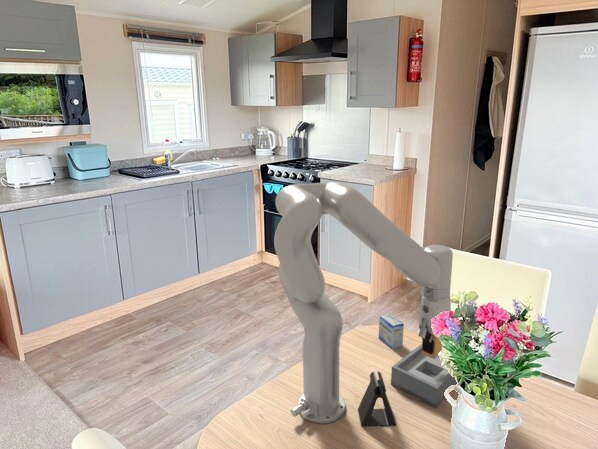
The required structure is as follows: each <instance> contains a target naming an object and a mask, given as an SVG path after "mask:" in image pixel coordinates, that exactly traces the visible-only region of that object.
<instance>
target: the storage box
mask: <svg viewBox="0 0 598 449" xmlns="http://www.w3.org/2000/svg"><path fill="white" fill-rule="evenodd" d="M390 378H391V379H390V385H391V386H393V387H395V388H397V389H399V390H401V391H402V392H405V393H406V394H408V395H410V396H412V397H413V398H416V399H418V400H420V401H422V402H424V403H426V404H428V405H429V406H431V407H433V408H437V407H438V406H439V405H440V404H441V403H442V402H443V401H444V400H445V399H446V398H445V396H444V392H445V390H446V389H447V388H448V387H449V386H451V385H456V384H457V382H456V380H455V378H454V377H452V376H451V375H450V374H449V373H448V370H447V369H445V368H443V367H442V366H441V363H440V358H439V356H438V357H437V358H435V359H432V358H430V357H428V356H425V355H423V354H422V343H421V344H420V345H418V346H417V347H416V348H415V349H413V350H412V351H411V352H409V353H408V354H406V355H405V356H404V357H402V358H401V359H400V360H399V361H397V362H395V363H394V364H393V365H392V366H391V377H390Z"/></svg>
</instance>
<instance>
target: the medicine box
mask: <svg viewBox="0 0 598 449" xmlns="http://www.w3.org/2000/svg"><path fill="white" fill-rule="evenodd" d="M378 322H379V325H378V339H379V340H380V341H381V342H383V343H384V344H385V345H387V347H389V348H390V349H392V350H394V349H398V348H400V347H403V345H404V344H403V343H404V327H405V324H404V323H403V322H402V321H401V320H399V319H398V318H396V317H395V316H393V315H392V314H391V313H387V314H386V313H385V314H383V315H379V321H378Z"/></svg>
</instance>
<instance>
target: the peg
mask: <svg viewBox="0 0 598 449" xmlns="http://www.w3.org/2000/svg"><path fill="white" fill-rule="evenodd" d="M427 329H428V328H427ZM426 334H427V335H429V336H430V333H428V332H426ZM421 341H422V342H421V344H422V343H423V339H422V338H421ZM433 341H434V350H433V354H429V353H427V352H424V351H423V350H422V354H423V355H425V356H428V357H430V358H432V359H435V358H437V357H438V353H439V352H440V351H441V350H442V349H443V343H442V344H441V342H440V341H439V339H438V338H437V337H435V336H433Z"/></svg>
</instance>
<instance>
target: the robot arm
mask: <svg viewBox="0 0 598 449" xmlns="http://www.w3.org/2000/svg"><path fill="white" fill-rule="evenodd" d="M275 208H276V210H277V213H278V214H279V215H280V216H282V217H281V219H280V221H279V222H278V225H277V228H276V230H275V233H274V238H273V246H274V250H275V254H276V257H277V259H278V261H279V265H278V277H279V281H280V284H281V286H282V288H283V290H284V292H285V296H286V297H287V299H288V302H289V304H290V307H291V309H292V310H293V312H294V314H295V315H296V317H297V319H298V320H299V322H300V323H301V325H302V327H303V329H304V337H303V342H302V369H303V370H302V375H303V376H302V379H303V394H302V395H301V396H300V397H299V399H298V403H297V406H295V407H293V408H292V409H291V410H290V413H291V416H292V417H294V418H295V417H297V416H298V415H301V416H302V418H303V419H306V420H307V421H309V422H311V423H316V424H328V423H332V422H335V421H337V420H339V419H340V418H341V417H342V416H343V415H344V413H345V411H346V402H345V400H344V398H343V397H342V395H340V348H341V346H340V344H341V336H342V332H343V325H344V324H343V317H342V314H341V312H340V310H339V309H338V306H336V304H335V303H334V302H333V301H332V300H331V299H330V298H329V297H328V296H327V294H325V289H326V281H325V277H324V273H323V272H322V269H321V267H320V265H319V262H318V259H317V256H316V254H315V252H314V249H313V245H312V242H311V241H312V235H313V233H314V231H315V229H316V227H317V226H318V224H319V223H320V221H321V219H322V215H329V216H331V217H333V218H334V219H336V221H338V222H339V223H340V224H341V225H343V226H344V227H345V228H346V229H347V230H348V231H349V232H351V233H352V234H353V235H354V236H355V237H356V238H358V239H359V240H360V241H361V242H362V243H363V244H364V245H366V246H367V247H368V248H369V249H371V250H372V251H374V253H376V254H377V255H379V256H381V257H382V258H384V259H386V260H387V261H388V262H390V263H391V264H392V266H393V267H394V269H395V270H396V271H397V272H399V273H400V274H401V275H403V276H404V277H406V278H408V279H409V280H410V281H411V282H413V283H415V285H418V286H419V287H421V288H420V289H421V291H420V295H421V301H420V306H419V312H418V328H419V332H418V337H420V338H421V340H422V339H423V343H422V342H421V344H422V350H423V351H424V352H427V353H429V354H433V350H434V341H433V336H434V334H433V332H432V328H431V319H432V318H433V317H435V316H437V315H438V314H439V313H440V312H443V311H452V310H451V309H452V308H451V307H452V306H451V304H452V303H450V300H451V288H452V287H451V285H452V284H451V283H452V270H453V258H454V256H453V255H454V253H453V251H452V249H451V248H450V246H445V245H443V244H442V245H441V244H431V245H430V244H429V245H427V246H421V245H420V244H418V243H417V242H416V241H415V240H414V239H413V238H412V237H410V236H409V235H408V234H406V232H404V231H403V230H402V229H401V228H400V227H398V226H397V225H396V224H395V223H394V222H393V221H392V220H390V219H389V217H387V216H386V215H385V214H384V213H383V212H382V211H381V210H380V209H378V207H376V206H375V205H374V204H373V203H372V201H370V200H369V199H368V198H367V197H366V196H364V194H362V192H360V191H359V190H357V189H356V188H354V187H351V186H349V185H346V184H345V183H343V182H337V181H328V182H327V181H326V182H317V183H316V182H315V183H299V184H297V183H296V184H289V185H287V186H285V187H283V188H282V189H280V191H278V192H277V195H276V197H275ZM427 328H428V329H427ZM426 332H428V333H430V336H429V335H427V334H426Z"/></svg>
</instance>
